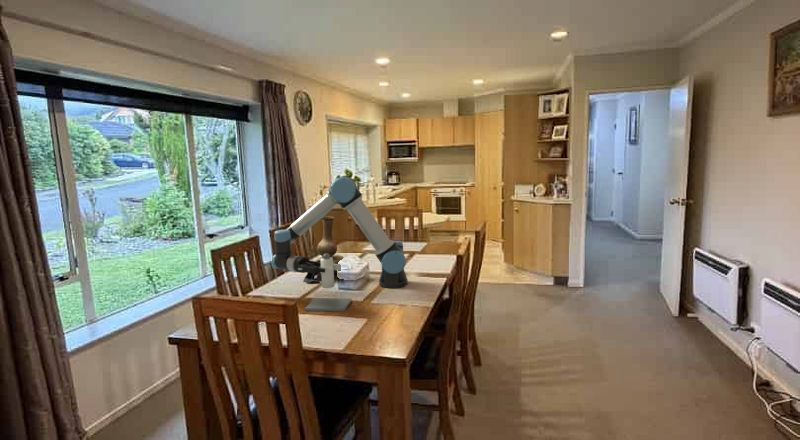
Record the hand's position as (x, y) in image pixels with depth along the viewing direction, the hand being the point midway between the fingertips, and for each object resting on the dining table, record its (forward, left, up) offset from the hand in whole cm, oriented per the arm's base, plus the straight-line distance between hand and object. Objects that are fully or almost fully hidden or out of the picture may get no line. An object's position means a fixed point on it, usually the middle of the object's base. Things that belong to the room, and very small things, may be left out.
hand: (335, 269), depth 190 cm
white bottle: (+5, -2, -8) cm, 10 cm away
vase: (+22, -49, -18) cm, 57 cm away
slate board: (+5, -3, -18) cm, 19 cm away
